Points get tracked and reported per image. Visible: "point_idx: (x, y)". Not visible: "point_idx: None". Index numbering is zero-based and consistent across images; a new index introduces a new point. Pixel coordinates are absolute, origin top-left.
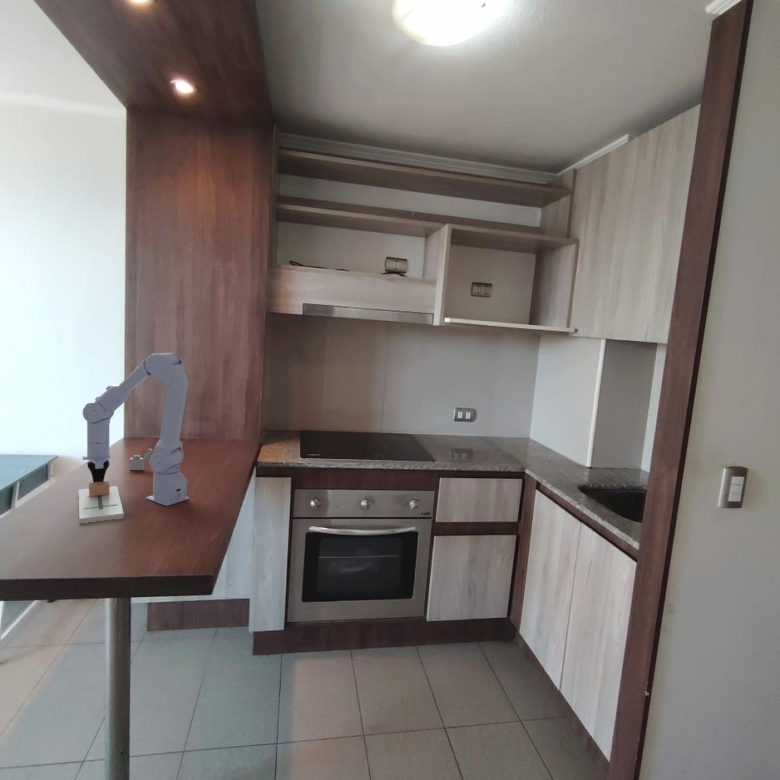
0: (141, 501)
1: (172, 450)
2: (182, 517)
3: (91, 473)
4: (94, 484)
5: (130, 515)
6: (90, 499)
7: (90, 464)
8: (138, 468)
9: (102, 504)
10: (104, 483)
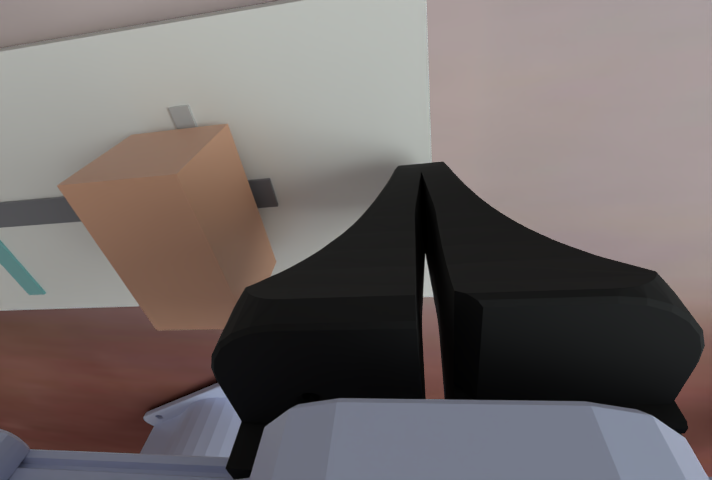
0: (209, 355)
1: None
2: (48, 426)
3: (338, 238)
4: (127, 229)
5: (10, 313)
6: (100, 141)
7: (298, 370)
8: None
9: (9, 226)
10: (172, 301)
